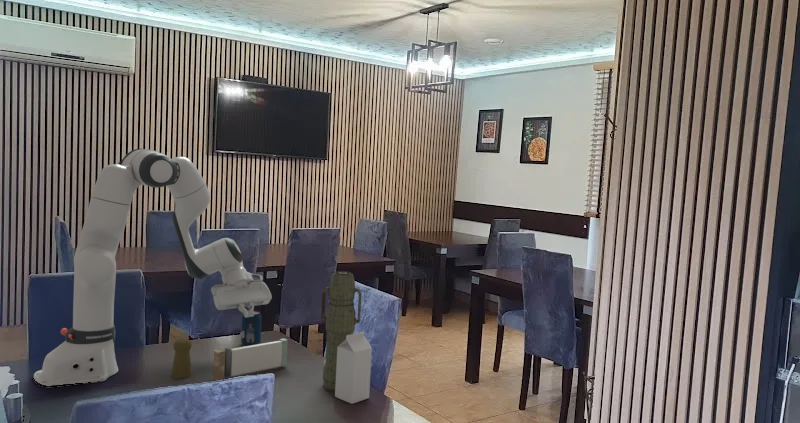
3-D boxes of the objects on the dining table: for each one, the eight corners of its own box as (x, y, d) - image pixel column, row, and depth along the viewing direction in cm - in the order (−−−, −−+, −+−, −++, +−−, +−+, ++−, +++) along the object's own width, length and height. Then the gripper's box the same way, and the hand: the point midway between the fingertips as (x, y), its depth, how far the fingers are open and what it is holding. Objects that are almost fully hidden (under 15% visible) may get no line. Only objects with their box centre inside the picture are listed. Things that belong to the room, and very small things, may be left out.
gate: (225, 377, 190) (226, 349, 189) (222, 375, 191) (223, 348, 191) (286, 365, 204) (287, 339, 204) (283, 363, 206) (284, 337, 205)
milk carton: (369, 398, 182) (372, 334, 180) (351, 404, 176) (355, 338, 175) (352, 391, 186) (355, 329, 185) (334, 397, 181) (337, 333, 179)
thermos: (317, 380, 194) (323, 269, 191) (355, 381, 195) (361, 270, 192) (317, 391, 185) (322, 274, 182) (357, 391, 186) (363, 275, 184)
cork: (185, 379, 188) (186, 343, 188) (167, 376, 190) (168, 341, 189) (195, 373, 194) (196, 338, 194) (178, 370, 196) (179, 336, 195)
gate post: (216, 381, 188) (217, 352, 187) (212, 379, 190) (214, 350, 189) (223, 380, 189) (225, 351, 189) (220, 378, 191) (221, 349, 190)
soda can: (255, 341, 232) (256, 309, 231) (264, 345, 226) (265, 313, 225) (237, 343, 227) (238, 311, 226) (246, 348, 222) (247, 315, 221)
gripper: (212, 280, 211) (225, 314, 204) (266, 275, 224) (279, 307, 218) (206, 290, 214) (218, 325, 208) (259, 285, 228) (272, 317, 222)
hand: (250, 316), depth 213 cm, fingers closed
